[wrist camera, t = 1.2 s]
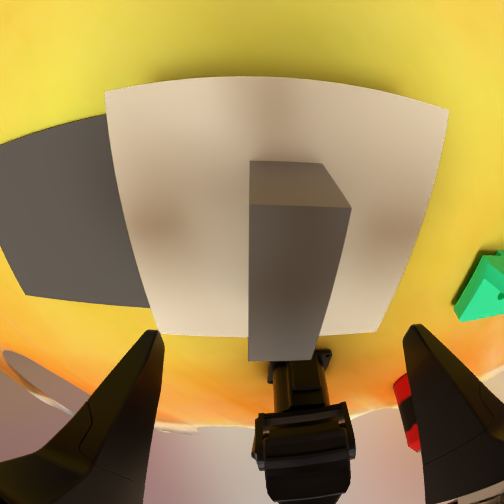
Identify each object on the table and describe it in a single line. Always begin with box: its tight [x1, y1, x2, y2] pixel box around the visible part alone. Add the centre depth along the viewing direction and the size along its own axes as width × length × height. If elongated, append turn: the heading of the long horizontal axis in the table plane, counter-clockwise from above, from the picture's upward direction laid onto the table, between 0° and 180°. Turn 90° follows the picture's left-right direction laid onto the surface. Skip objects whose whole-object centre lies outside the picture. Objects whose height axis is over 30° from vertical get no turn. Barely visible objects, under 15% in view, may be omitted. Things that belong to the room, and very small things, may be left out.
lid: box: [104, 76, 449, 361], centre depth 12 cm, size 15×15×5 cm
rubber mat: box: [0, 114, 150, 308], centre depth 18 cm, size 16×16×1 cm
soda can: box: [394, 374, 421, 452], centre depth 29 cm, size 8×8×12 cm
